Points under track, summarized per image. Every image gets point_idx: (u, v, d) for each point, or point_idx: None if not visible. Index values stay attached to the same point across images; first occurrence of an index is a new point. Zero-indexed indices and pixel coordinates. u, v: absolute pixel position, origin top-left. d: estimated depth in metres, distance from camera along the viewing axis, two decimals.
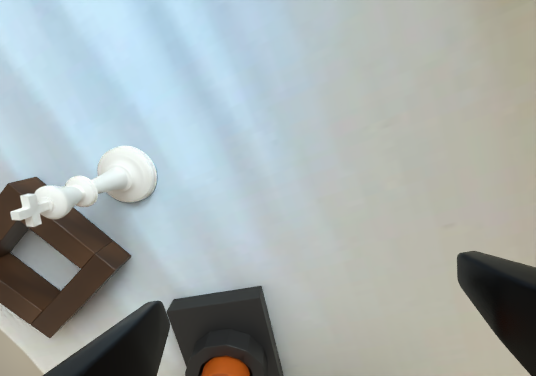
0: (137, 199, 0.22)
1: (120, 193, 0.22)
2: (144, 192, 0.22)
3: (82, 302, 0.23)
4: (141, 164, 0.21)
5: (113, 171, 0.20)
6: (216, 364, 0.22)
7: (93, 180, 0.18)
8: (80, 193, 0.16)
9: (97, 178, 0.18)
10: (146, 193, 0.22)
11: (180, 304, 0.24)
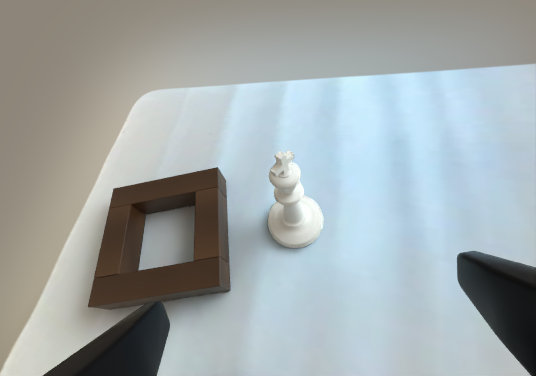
0: (289, 242, 0.21)
1: (281, 227, 0.22)
2: (300, 240, 0.21)
3: (158, 294, 0.19)
4: (317, 218, 0.22)
5: None
6: None
7: None
8: (294, 189, 0.17)
9: None
10: (301, 242, 0.21)
11: None
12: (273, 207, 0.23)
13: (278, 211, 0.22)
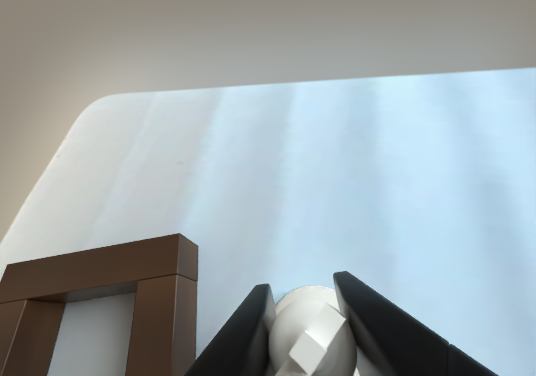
0: None
1: None
2: None
3: None
4: None
5: None
6: None
7: None
8: None
9: None
10: None
11: None
12: (276, 312, 0.13)
13: None
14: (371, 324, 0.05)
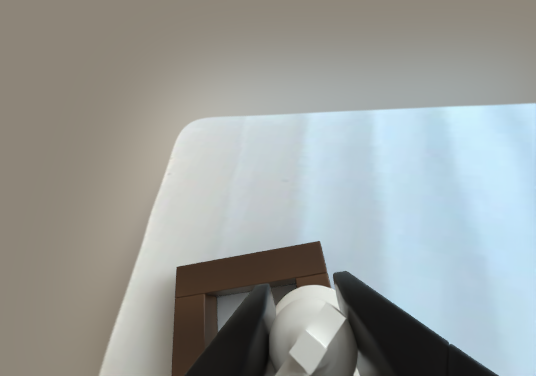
0: None
1: None
2: None
3: None
4: None
5: None
6: None
7: None
8: None
9: None
10: None
11: None
12: (277, 312, 0.13)
13: None
14: (371, 324, 0.05)
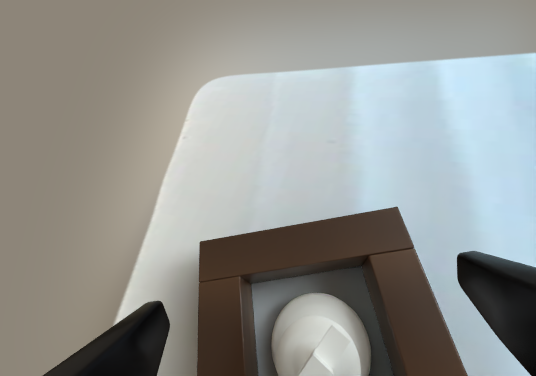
0: None
1: None
2: None
3: None
4: (362, 351, 0.12)
5: None
6: None
7: None
8: None
9: None
10: None
11: None
12: (280, 319, 0.13)
13: None
14: None
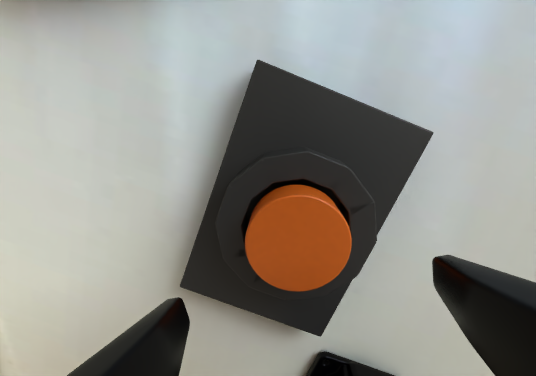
0: None
1: None
2: None
3: None
4: None
5: None
6: (311, 190, 0.11)
7: None
8: None
9: None
10: None
11: None
12: None
13: None
14: (529, 302, 0.05)
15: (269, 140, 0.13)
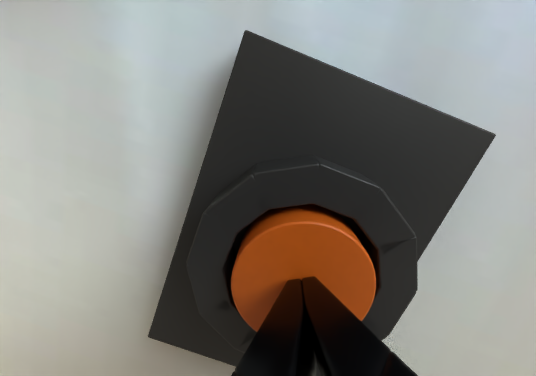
0: None
1: None
2: None
3: None
4: None
5: None
6: (321, 212, 0.08)
7: None
8: None
9: None
10: None
11: None
12: None
13: None
14: (323, 331, 0.05)
15: (263, 146, 0.09)
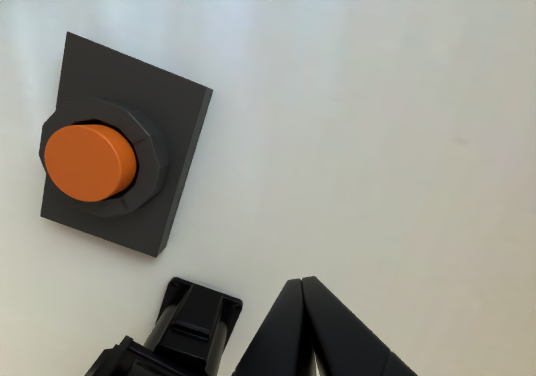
0: None
1: None
2: None
3: None
4: None
5: None
6: (96, 126, 0.15)
7: None
8: None
9: None
10: None
11: None
12: None
13: None
14: (323, 331, 0.05)
15: (86, 94, 0.16)
